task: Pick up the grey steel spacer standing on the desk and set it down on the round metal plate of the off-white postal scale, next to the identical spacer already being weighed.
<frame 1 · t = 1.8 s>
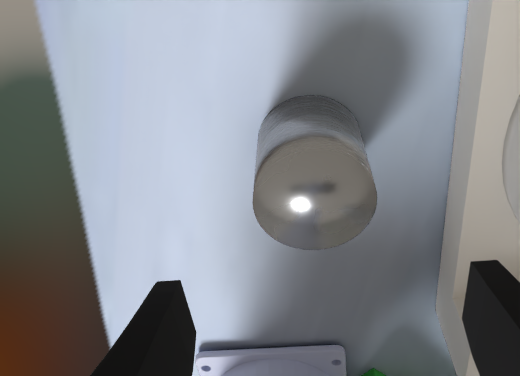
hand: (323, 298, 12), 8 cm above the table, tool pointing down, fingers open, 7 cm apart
spacer b: (308, 142, 19), on the table
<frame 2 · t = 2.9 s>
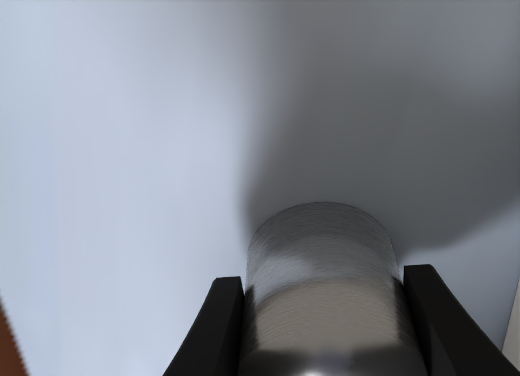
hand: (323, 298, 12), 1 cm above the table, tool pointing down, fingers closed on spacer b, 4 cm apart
spacer b: (319, 260, 14), on the table, touching gripper
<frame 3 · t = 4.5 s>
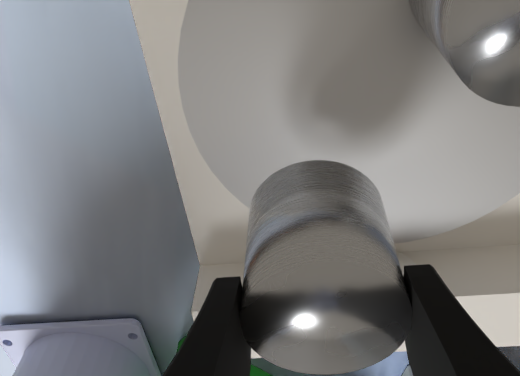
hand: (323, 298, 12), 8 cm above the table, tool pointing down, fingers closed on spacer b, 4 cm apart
scale: (373, 96, 18), on the table
spacer b: (315, 216, 15), point 5 cm above the table, touching gripper
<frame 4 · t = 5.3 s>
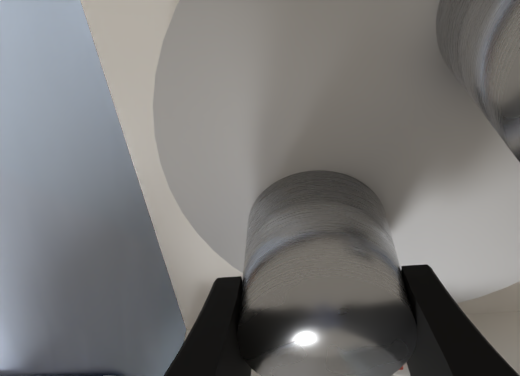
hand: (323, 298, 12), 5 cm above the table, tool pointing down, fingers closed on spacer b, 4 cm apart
scale: (388, 141, 16), on the table
spacer b: (316, 228, 14), point 3 cm above the table, touching gripper, scale
when the fingers open (5 cm above the table, at t = 5.5 s): spacer b stays where it is, resting on scale.
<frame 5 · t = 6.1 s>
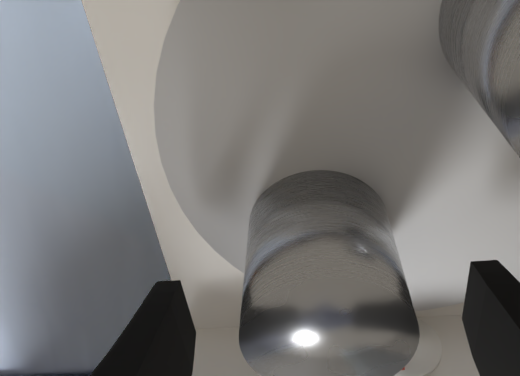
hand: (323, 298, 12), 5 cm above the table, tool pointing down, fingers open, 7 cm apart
scale: (389, 141, 15), on the table
spacer b: (317, 227, 14), point 3 cm above the table, touching scale
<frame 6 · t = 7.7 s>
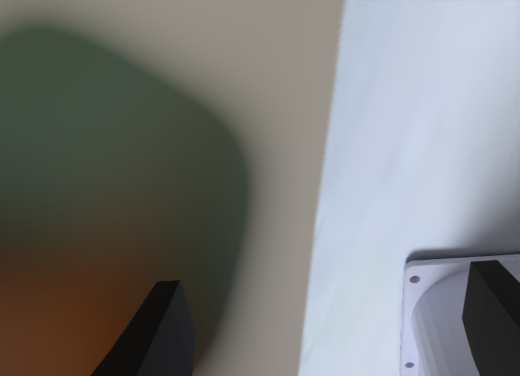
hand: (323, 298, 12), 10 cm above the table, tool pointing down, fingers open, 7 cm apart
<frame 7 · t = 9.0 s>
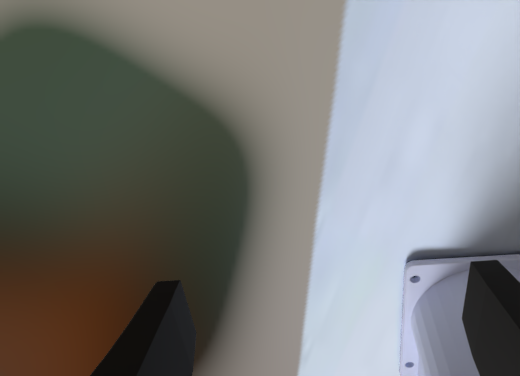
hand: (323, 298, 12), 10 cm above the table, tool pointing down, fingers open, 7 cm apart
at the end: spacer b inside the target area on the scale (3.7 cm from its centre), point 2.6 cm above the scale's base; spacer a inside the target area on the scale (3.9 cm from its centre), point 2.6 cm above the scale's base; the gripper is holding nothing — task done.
